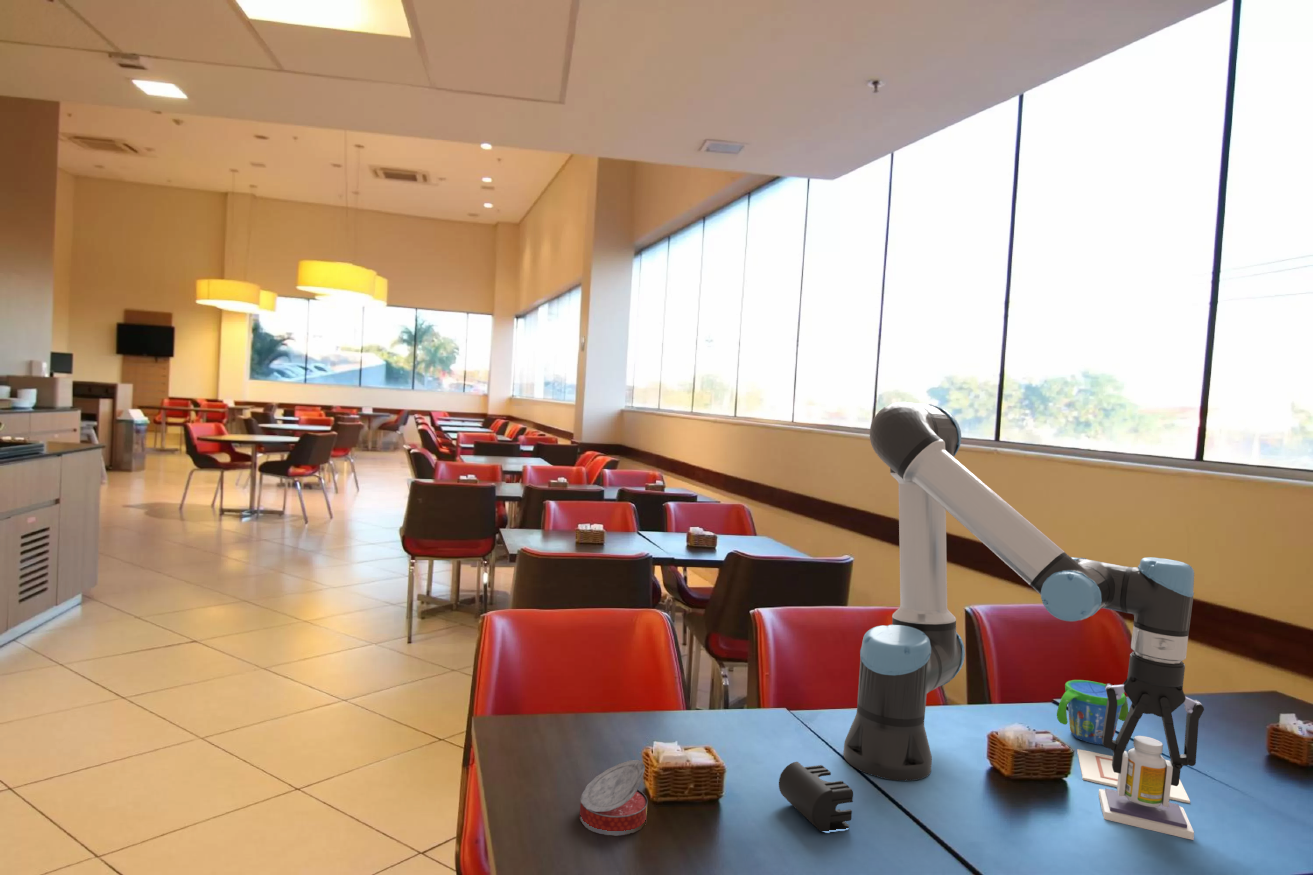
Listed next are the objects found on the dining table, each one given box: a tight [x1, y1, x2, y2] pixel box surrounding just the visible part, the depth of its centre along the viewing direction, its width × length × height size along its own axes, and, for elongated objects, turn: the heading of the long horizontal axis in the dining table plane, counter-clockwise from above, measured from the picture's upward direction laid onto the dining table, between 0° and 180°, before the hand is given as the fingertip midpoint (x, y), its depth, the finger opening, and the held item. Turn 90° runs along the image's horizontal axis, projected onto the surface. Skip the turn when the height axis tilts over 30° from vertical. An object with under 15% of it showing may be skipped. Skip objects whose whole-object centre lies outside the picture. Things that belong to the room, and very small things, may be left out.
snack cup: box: [1056, 679, 1129, 745], centre depth 161 cm, size 16×10×10 cm
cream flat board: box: [1076, 748, 1191, 804], centre depth 145 cm, size 16×14×1 cm
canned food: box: [579, 759, 649, 831], centre depth 118 cm, size 11×10×10 cm
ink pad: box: [1098, 787, 1195, 841], centre depth 129 cm, size 12×9×2 cm
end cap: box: [778, 761, 854, 832], centre depth 122 cm, size 10×7×7 cm
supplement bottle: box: [1124, 735, 1166, 807], centre depth 129 cm, size 5×5×10 cm
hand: (1142, 797), depth 129 cm, fingers closed on supplement bottle, 5 cm apart
